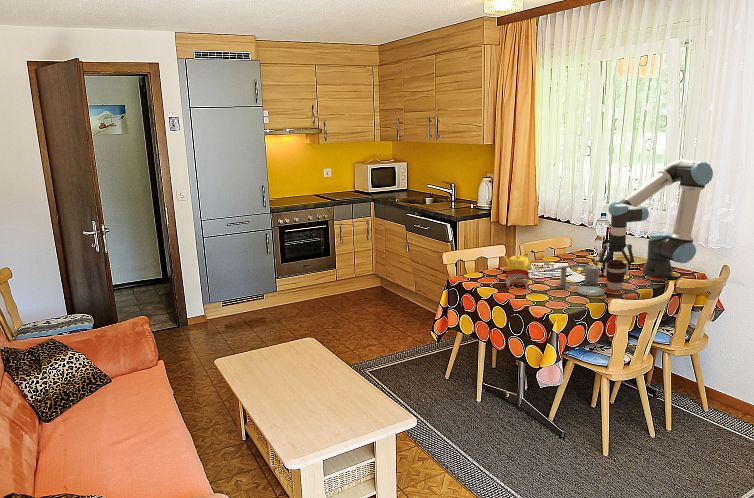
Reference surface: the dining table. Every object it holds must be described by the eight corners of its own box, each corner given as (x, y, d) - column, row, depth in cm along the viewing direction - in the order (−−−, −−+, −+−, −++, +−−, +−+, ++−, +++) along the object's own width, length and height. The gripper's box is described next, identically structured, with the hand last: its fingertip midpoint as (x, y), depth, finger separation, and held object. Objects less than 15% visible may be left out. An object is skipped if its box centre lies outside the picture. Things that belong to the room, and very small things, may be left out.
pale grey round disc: (600, 288, 297) (601, 286, 297) (607, 297, 284) (607, 294, 283) (573, 288, 299) (573, 286, 299) (578, 296, 286) (579, 294, 285)
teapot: (535, 273, 328) (535, 257, 326) (513, 275, 325) (513, 259, 323) (523, 266, 342) (523, 251, 340) (501, 269, 339) (502, 254, 337)
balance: (581, 284, 304) (582, 261, 301) (583, 288, 298) (585, 264, 295) (542, 284, 307) (543, 261, 304) (544, 288, 301) (544, 264, 298)
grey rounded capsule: (596, 281, 309) (597, 265, 307) (599, 285, 302) (600, 269, 300) (583, 281, 310) (584, 265, 308) (585, 285, 303) (586, 269, 301)
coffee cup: (626, 291, 290) (628, 263, 286) (606, 291, 292) (608, 263, 288) (622, 285, 300) (624, 258, 296) (603, 285, 302) (604, 258, 298)
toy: (529, 283, 311) (530, 269, 309) (528, 289, 301) (529, 274, 299) (507, 281, 315) (507, 268, 313) (505, 287, 305) (505, 273, 303)
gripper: (638, 232, 290) (635, 273, 296) (593, 233, 294) (591, 273, 299) (643, 235, 283) (640, 277, 289) (597, 236, 287) (594, 277, 292)
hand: (615, 275), depth 294 cm, fingers closed on coffee cup, 10 cm apart
